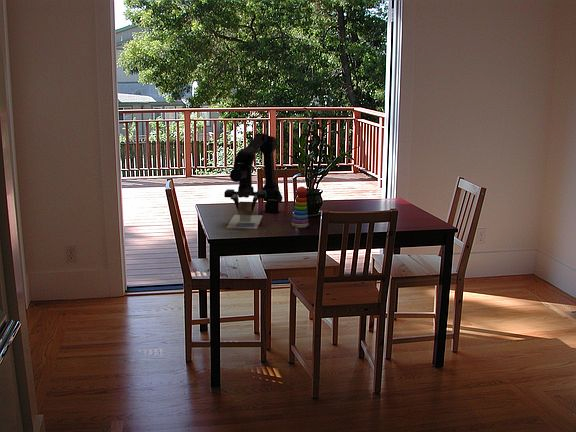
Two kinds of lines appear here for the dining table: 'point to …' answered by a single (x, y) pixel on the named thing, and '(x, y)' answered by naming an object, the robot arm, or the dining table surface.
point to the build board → (237, 224)
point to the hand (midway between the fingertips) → (245, 212)
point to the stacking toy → (300, 209)
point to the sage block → (245, 218)
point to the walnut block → (245, 208)
